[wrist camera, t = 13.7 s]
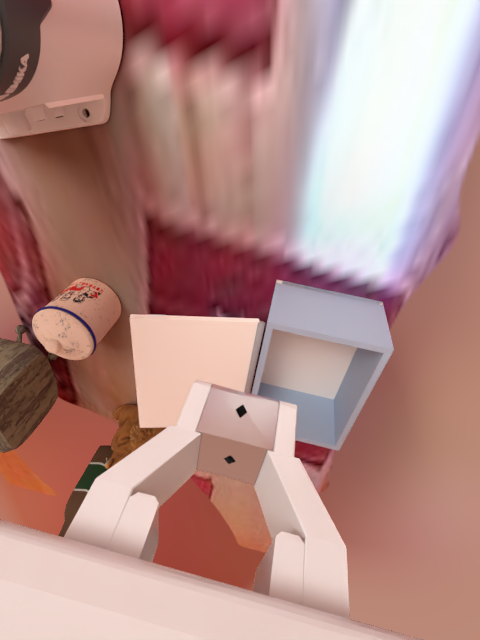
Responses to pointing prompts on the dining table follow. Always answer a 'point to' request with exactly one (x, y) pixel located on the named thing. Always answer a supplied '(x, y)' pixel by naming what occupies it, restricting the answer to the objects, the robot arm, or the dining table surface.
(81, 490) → the beer bottle
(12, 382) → the brown cowbell
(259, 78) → the dining table surface
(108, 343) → the dining table surface
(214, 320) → the lid
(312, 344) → the box
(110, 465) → the stuffed squirrel
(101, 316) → the teacup with lid
